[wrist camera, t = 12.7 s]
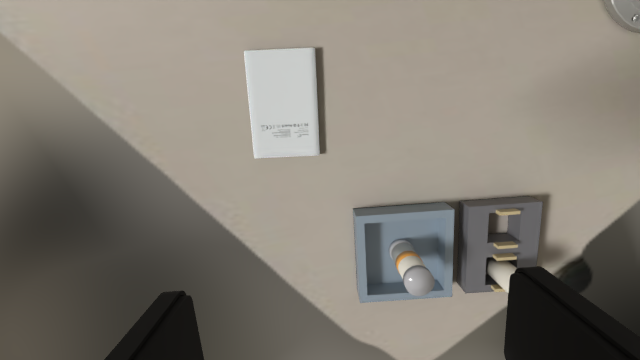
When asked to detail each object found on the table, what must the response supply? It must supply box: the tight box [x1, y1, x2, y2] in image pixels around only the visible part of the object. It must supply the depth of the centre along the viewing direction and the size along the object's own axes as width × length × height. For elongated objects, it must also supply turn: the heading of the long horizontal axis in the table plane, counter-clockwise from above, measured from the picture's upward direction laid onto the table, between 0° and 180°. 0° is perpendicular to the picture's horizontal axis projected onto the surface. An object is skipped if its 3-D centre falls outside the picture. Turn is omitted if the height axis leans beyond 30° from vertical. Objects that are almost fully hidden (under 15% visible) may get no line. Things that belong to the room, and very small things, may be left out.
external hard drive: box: [244, 47, 320, 158], centre depth 37 cm, size 2×8×12 cm
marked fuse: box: [389, 239, 435, 296], centre depth 37 cm, size 3×3×8 cm
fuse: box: [486, 257, 517, 293], centre depth 38 cm, size 3×3×8 cm
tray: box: [353, 202, 454, 303], centre depth 40 cm, size 12×12×3 cm
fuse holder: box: [457, 196, 543, 293], centre depth 39 cm, size 9×12×4 cm
